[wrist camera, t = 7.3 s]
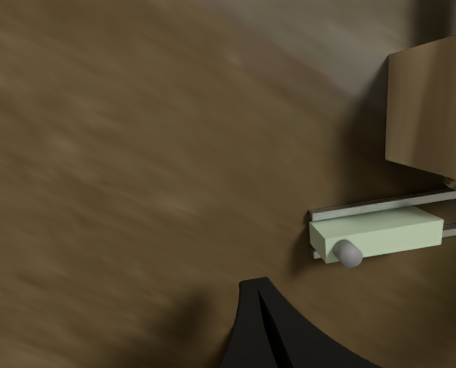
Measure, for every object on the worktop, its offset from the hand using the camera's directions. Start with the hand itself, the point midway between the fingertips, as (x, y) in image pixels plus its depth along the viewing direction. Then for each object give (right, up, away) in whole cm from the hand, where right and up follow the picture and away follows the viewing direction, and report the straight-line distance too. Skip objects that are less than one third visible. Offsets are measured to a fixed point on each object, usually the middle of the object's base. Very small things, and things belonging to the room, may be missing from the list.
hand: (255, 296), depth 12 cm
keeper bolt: (+8, +3, +5) cm, 10 cm away
